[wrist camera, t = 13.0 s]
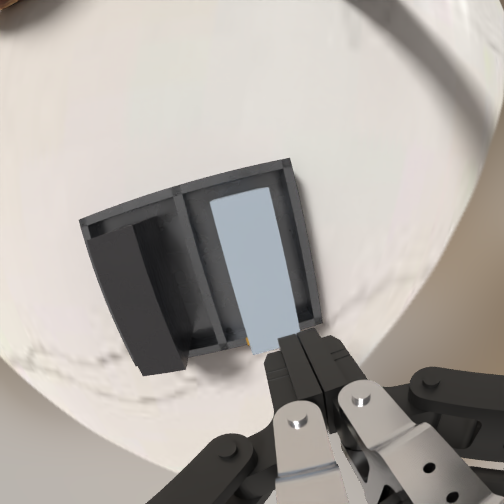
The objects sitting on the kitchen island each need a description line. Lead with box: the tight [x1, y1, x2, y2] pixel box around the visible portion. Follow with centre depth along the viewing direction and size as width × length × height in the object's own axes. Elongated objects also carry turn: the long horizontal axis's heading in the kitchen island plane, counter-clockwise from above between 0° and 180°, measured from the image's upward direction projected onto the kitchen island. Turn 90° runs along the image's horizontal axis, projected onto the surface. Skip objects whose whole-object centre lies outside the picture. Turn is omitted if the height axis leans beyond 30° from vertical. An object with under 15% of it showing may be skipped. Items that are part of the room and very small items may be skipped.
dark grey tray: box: [79, 158, 323, 376], centre depth 23 cm, size 20×16×8 cm
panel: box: [210, 187, 300, 355], centre depth 22 cm, size 4×12×7 cm, turn 14°
